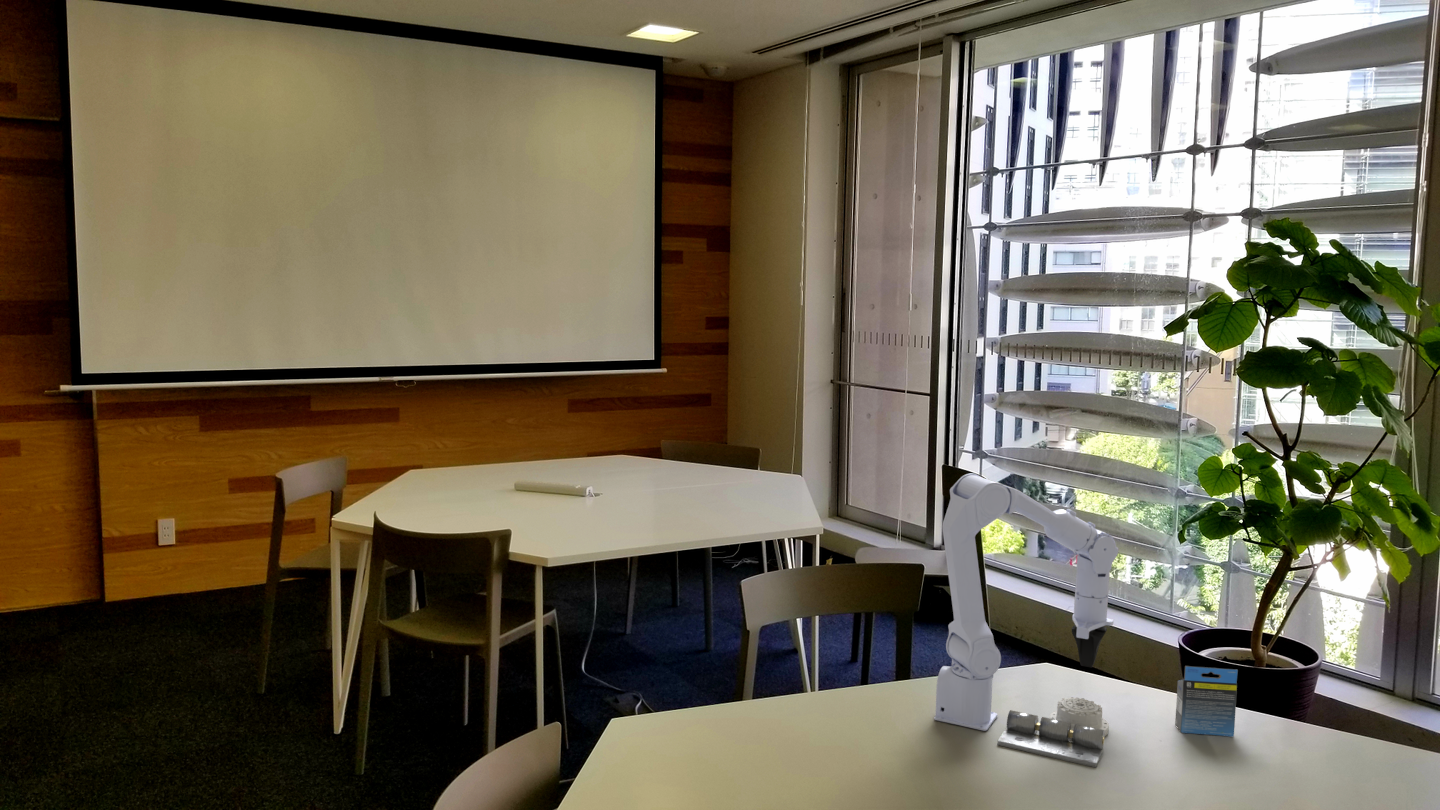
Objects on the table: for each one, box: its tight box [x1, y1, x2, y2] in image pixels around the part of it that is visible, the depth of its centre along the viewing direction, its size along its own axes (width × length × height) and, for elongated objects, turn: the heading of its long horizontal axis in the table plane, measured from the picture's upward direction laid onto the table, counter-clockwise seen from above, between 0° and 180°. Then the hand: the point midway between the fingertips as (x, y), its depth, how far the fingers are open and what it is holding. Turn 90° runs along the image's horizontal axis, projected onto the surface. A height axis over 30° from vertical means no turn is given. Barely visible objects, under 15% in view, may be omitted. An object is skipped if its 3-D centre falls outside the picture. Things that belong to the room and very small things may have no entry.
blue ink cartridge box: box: [1174, 665, 1239, 738], centre depth 181 cm, size 9×4×12 cm, turn 80°
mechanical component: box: [1049, 696, 1110, 737], centre depth 182 cm, size 10×4×10 cm
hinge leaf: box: [997, 709, 1106, 768], centre depth 175 cm, size 16×9×4 cm, turn 60°
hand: (1087, 665), depth 190 cm, fingers closed
